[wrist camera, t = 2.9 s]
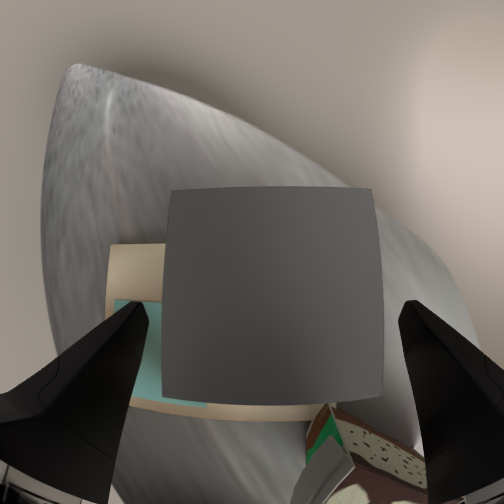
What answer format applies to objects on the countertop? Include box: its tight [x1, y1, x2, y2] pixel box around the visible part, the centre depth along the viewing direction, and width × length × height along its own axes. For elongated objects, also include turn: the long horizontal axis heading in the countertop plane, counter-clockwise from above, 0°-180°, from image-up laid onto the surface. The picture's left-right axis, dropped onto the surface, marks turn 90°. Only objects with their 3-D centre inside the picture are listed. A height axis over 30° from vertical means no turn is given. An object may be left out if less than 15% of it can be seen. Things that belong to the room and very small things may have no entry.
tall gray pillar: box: [161, 187, 384, 406], centre depth 11 cm, size 5×5×10 cm
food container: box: [290, 403, 464, 504], centre depth 9 cm, size 12×6×10 cm, turn 52°
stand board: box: [105, 243, 337, 422], centre depth 14 cm, size 11×15×5 cm
